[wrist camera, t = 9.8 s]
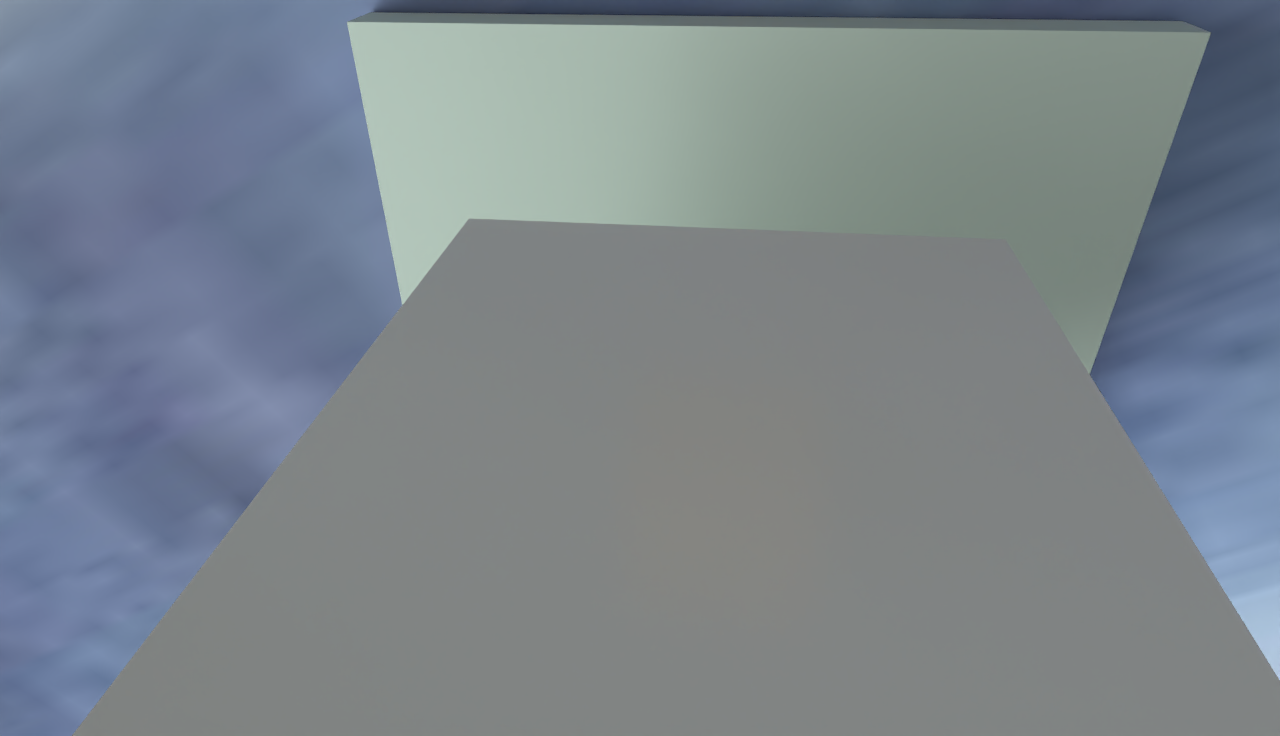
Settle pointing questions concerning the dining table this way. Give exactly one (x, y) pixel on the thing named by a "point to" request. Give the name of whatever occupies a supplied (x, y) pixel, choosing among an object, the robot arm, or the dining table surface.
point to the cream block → (706, 515)
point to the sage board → (784, 131)
